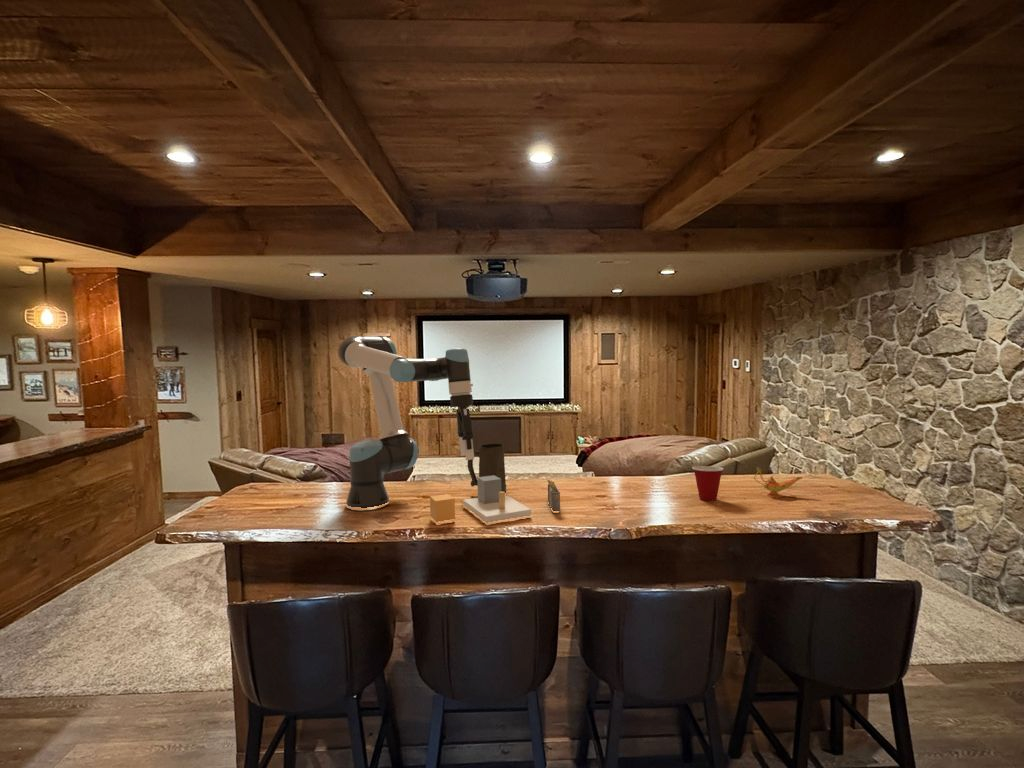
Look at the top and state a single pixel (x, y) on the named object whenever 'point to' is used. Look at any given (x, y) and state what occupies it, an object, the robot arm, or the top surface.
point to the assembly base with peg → (494, 502)
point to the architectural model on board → (553, 496)
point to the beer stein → (489, 463)
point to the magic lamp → (776, 485)
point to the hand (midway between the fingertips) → (467, 457)
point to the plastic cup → (708, 481)
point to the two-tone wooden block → (442, 507)
